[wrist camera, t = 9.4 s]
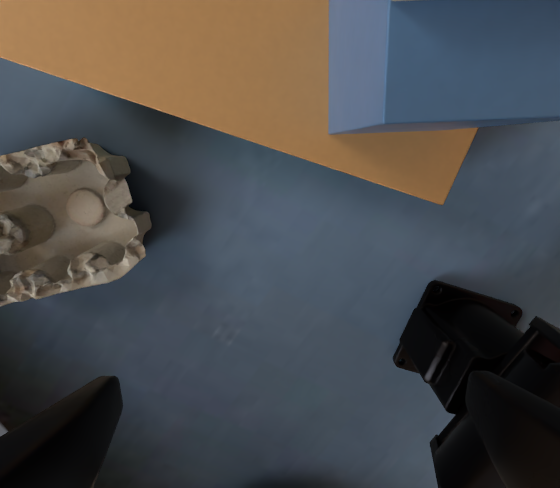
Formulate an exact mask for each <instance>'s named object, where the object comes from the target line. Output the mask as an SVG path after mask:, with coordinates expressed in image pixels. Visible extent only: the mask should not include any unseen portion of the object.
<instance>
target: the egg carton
mask: <svg viewBox="0 0 560 488" xmlns="http://www.w3.org/2000/svg"><path fill="white" fill-rule="evenodd" d="M129 174H130V167H129V165H128V161H127V159H126V157H124V156H115V155H111V154H109V153H107V152H106V151H105V150H103V149H102V148H101V147H100V146H99V145H97V144H93V143H89V142H88V140H87V139H86V138H84V137H83V138H82V139H81V140H80V141H78V139H76V138H75V139H68V140H65V141H59V142H55V143H51V144H47V145H42V146H38V147H34V148H30V149H27V150H24V151H20V152H16V153H11V154H7V155H2V156H0V306H3V305H6V304H9V303H12V302H17V301H21V302H22V301H25V300H28V299H30V298H35V299H39V298H43V297H47V296H51V295H54V294H57V293H62V292H67V291H72V290H75V289H79V288H82V287H89V286H94V285H99V284H104V283H109V282H111V281H114V280H117V279H119V278H121V277H122V276H123V275H125V274H126V273H127V272H128V271H129V270H130V269H132V268H133V267H134V266H135V265H136V264H137V263H138V262H139V261H140V260H141V259H143V258H144V257H145V248H144V246H143V245H142V242H143V237H144V234H145V233H146V232H147V231H148V230H149V229H151V225H152V224H151V221H150V215H149V213H148V212H146V211H136V210H134V209H132V208H130V207H129V205H130V204H131V203H132V198H131V195H130V191H129V188H128V185H127V182H126V180H125V179H124V178H125V177H126V176H127V175H129Z"/></svg>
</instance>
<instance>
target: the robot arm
mask: <svg viewBox="0 0 560 488" xmlns="http://www.w3.org/2000/svg"><path fill="white" fill-rule="evenodd" d="M437 286H439V287H438V289H437V290H436V291H433V290H434V288H435V287H437ZM512 311H514V313H513V314H511V312H512ZM521 316H522V310H521V308H519V307H518V306H516V305H515V304H512V303H508V302H505V301H502V300H499V299H495V298H492V297H489V296H486V295H483V294H479V293H476V292H473V291H470V290H467V289H463V288H460V287H457V286H454V285H450V284H447V283H444V282H441V281H437V280H434V281H431V282H430V283H429V284H428V285H427V287H426V289H425V292H424V294H423V296H422V298H421V300H420V302H419V304H418V306H417V308H415V309H414V310H413V313H412V315H411V317H410V319H409V321H408V323H407V325H406V327H405V329H404V331H403V333H402V336H401V338H400V344H399V346H398V348H397V350H396V352H395V354H394V356H393V361H394V363H395V365H396V366H397V367H399V368H402V369H405V370H409V371H412V372H416V373H420V375H421V377H422V378H423V380H424V381H425V382H426V383H428V384H429V385H430V386H431V388H432V389H433V391H434V392H435V394H436V396H437V397H438V399H439V400H440V402H441V403H442V405H443V406H444V408H445V410H446V411H447V412H449V413H452V414H455V417H454V418H453V419H452V420H451V421H450V422H449V424H448V425H447V426H446V427H445V428H444V430H443V431H442V432H441V433H440V434H439V436H438V435H435V437H434V438H433V439H432V440H431V441H430V447H431V452H432V457H433V463H434V468H435V473H436V478H437V484H438V488H560V329H559V328H557V327H555V326H553V325H551V324H550V323H548V322H546V321H544V320H543V319H541V318H539V317H537V316H535V318H534V319H533V320H532V321H531V322H530V324H529V325H530V328H529V329H528V330H527V331H526V332H525V334H524V333H523V332H521V331H520V330H519V329H517V328H516V327H515V326H516V324H517V323H518V321H519V319H520V318H521ZM400 359H403V360H402V361H399V360H400ZM122 408H123V401H122V395H121V389H120V383H119V379H118V378H117V377H116V376H100V377H98V378H96V379H95V380H93V381H91V382H90V383H88V384H86V385H85V386H83V387H81V388H80V389H78V390H77V391H75V392H73V393H72V394H70V395H68V396H67V397H65V398H63V399H62V400H60V401H58V402H57V403H55V404H53V405H52V406H50V407H49V408H47V409H45V410H44V411H42V412H40V413H39V414H37V415H35V416H34V417H32V418H30V419H29V420H27V421H25V422H24V423H22V424H20V425H19V426H17V427H16V428H14V429H12V430H11V431H9V432H7V433H6V434H4V435H2V436H1V437H0V488H93V486H94V483H95V481H96V479H97V477H98V474H99V472H100V469H101V467H102V464H103V462H104V459H105V456H106V453H107V451H108V448H109V445H110V443H111V440H112V437H113V434H114V432H115V429H116V426H117V424H118V421H119V418H120V415H121V412H122Z"/></svg>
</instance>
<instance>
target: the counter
mask: <svg viewBox="0 0 560 488" xmlns="http://www.w3.org/2000/svg"><path fill="white" fill-rule="evenodd" d="M0 58H3V59H6V60H9V61H12V62H15V63H18V64H21V65H24V66H27V67H30V68H33V69H36V70H39V71H42V72H45V73H48V74H51V75H54V76H57V77H60V78H63V79H66V80H69V81H72V82H75V83H78V84H81V85H84V86H87V87H90V88H93V89H96V90H99V91H102V92H105V93H108V94H111V95H114V96H117V97H120V98H123V99H126V100H129V101H132V102H135V103H138V104H141V105H144V106H147V107H150V108H153V109H156V110H159V111H162V112H165V113H168V114H171V115H174V116H177V117H180V118H183V119H186V120H189V121H192V122H195V123H198V124H201V125H204V126H207V127H210V128H213V129H216V130H219V131H222V132H224V133H227V134H230V135H233V136H236V137H239V138H242V139H245V140H248V141H251V142H254V143H257V144H260V145H263V146H266V147H269V148H272V149H275V150H278V151H281V152H284V153H287V154H290V155H293V156H296V157H299V158H302V159H305V160H308V161H311V162H314V163H317V164H320V165H323V166H326V167H329V168H332V169H335V170H338V171H341V172H344V173H347V174H350V175H353V176H356V177H359V178H362V179H365V180H368V181H371V182H374V183H377V184H380V185H383V186H386V187H389V188H392V189H395V190H398V191H401V192H404V193H407V194H410V195H413V196H416V197H419V198H422V199H425V200H428V201H431V202H434V203H437V204H440V205H443V204H444V202H445V200H446V197H447V195H448V193H449V191H450V189H451V187H452V184H453V182H454V180H455V178H456V176H457V173H458V171H459V169H460V167H461V165H462V163H463V160H464V158H465V156H466V154H467V152H468V150H469V147H470V145H471V143H472V141H473V139H474V137H475V134H476V132H477V130H478V128H479V127H477V128H465V129H453V130H437V131H411V132H385V133H359V134H333V135H329V134H328V109H329V0H0Z"/></svg>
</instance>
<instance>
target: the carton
mask: <svg viewBox="0 0 560 488" xmlns="http://www.w3.org/2000/svg"><path fill="white" fill-rule="evenodd" d="M559 120H560V0H329V109H328V134H329V135H333V134H359V133H385V132H411V131H437V130H453V129H465V128H477V127H489V126H500V125H512V124H524V123H536V122H548V121H559Z"/></svg>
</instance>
